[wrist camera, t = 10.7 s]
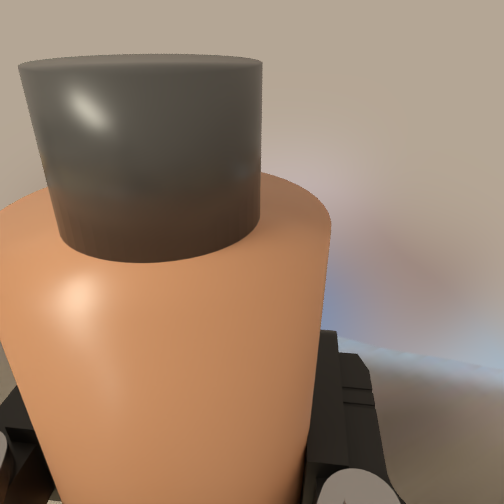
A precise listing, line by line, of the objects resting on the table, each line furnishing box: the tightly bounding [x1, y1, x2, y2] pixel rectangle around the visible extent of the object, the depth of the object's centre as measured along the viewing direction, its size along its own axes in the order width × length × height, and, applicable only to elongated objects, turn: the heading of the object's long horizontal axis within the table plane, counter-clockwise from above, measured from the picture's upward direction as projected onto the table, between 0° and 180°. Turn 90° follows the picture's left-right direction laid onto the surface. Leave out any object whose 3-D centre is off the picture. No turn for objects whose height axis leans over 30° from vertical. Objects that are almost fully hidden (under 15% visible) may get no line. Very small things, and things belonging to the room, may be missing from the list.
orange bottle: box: [0, 54, 331, 504], centre depth 9 cm, size 5×5×15 cm
